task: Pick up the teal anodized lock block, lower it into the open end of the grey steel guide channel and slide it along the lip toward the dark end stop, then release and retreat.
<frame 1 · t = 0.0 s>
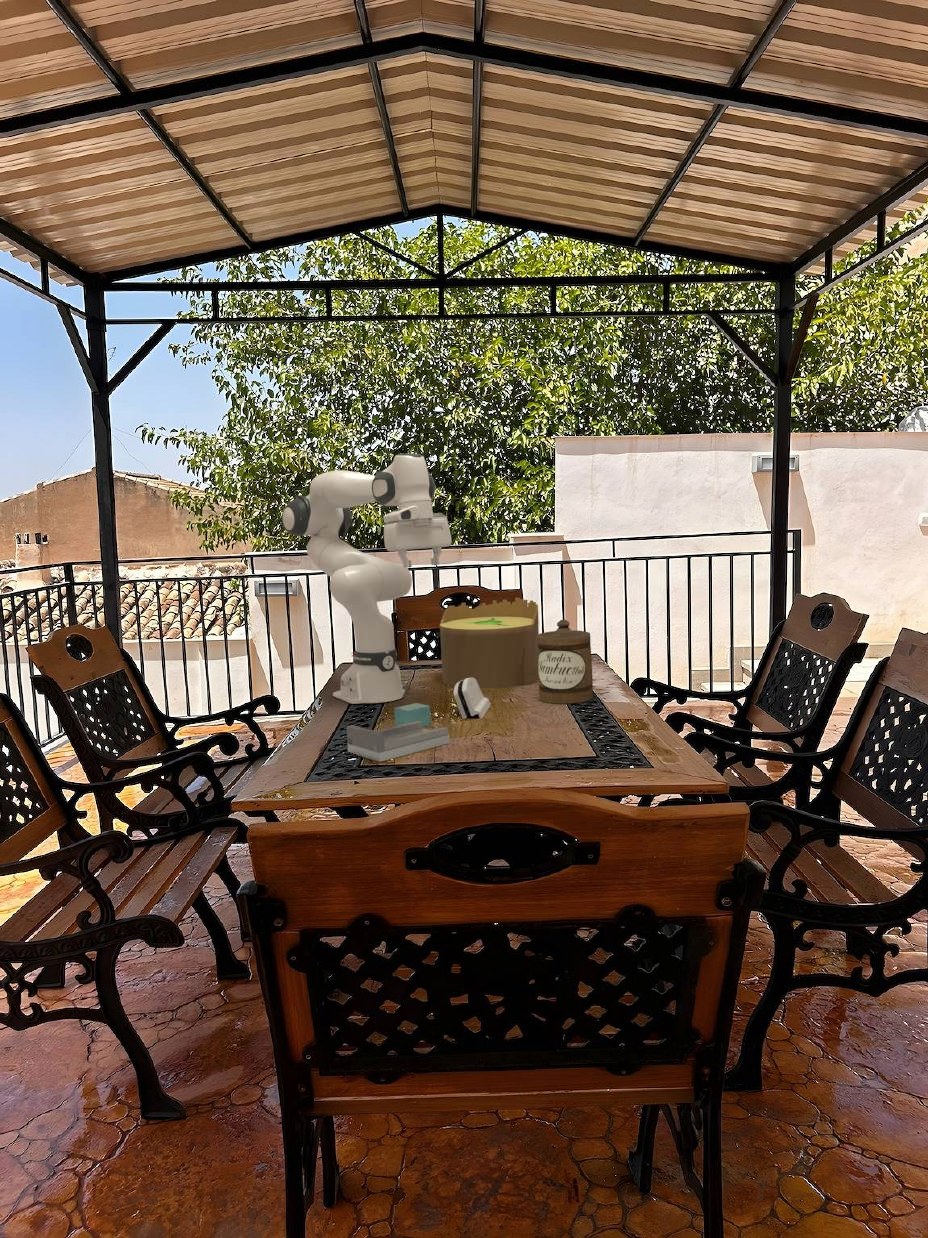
hand: (421, 566, 238), 39 cm above the table, tool pointing down, fingers open, 8 cm apart
lock block: (412, 726, 225), on the table
wooden container: (566, 699, 249), on the table
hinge: (472, 712, 238), on the table
guide channel: (399, 747, 205), on the table
brown wide cylinder: (491, 678, 283), on the table
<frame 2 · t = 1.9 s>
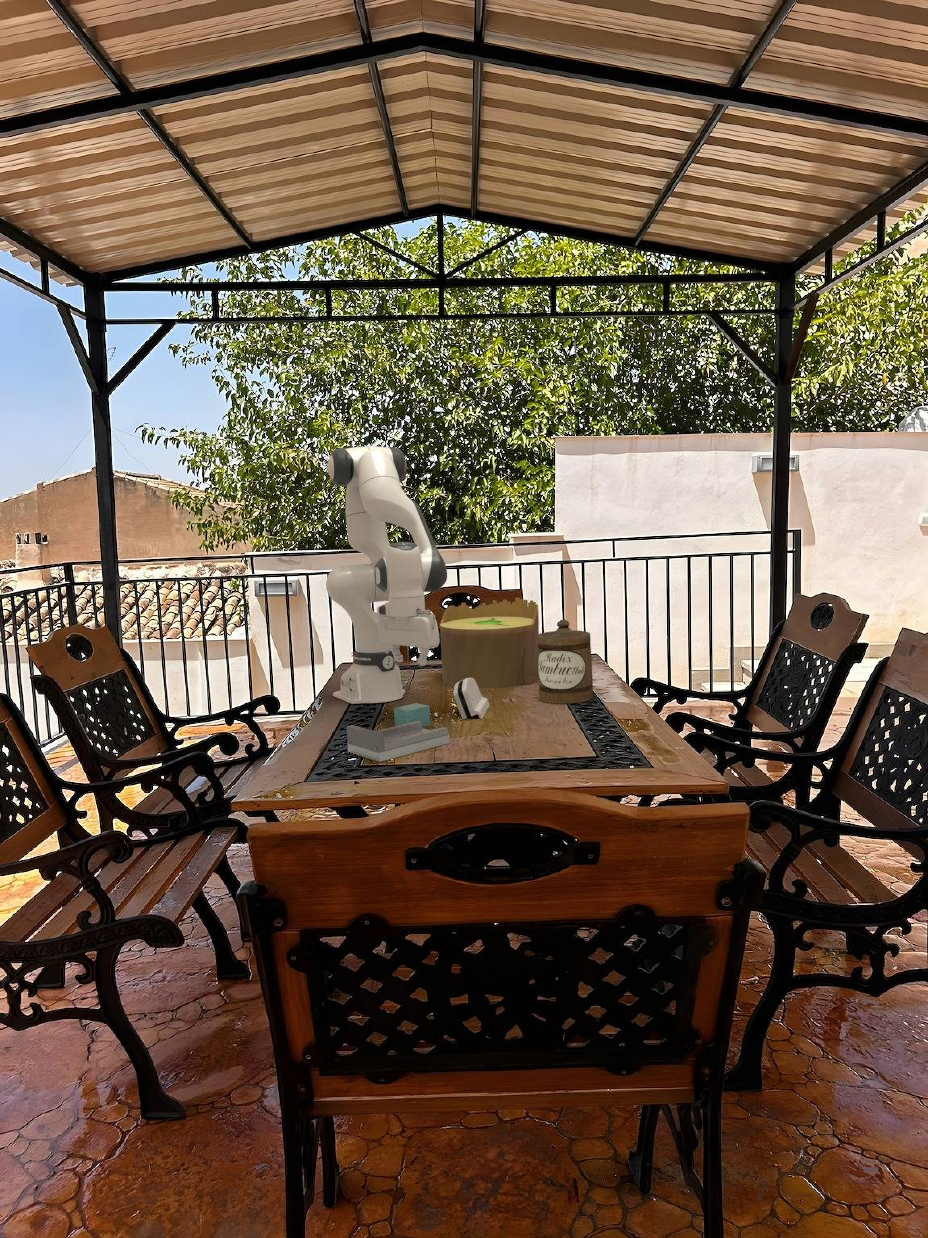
hand: (410, 663, 223), 16 cm above the table, tool pointing down, fingers open, 8 cm apart
nothing on the table moved.
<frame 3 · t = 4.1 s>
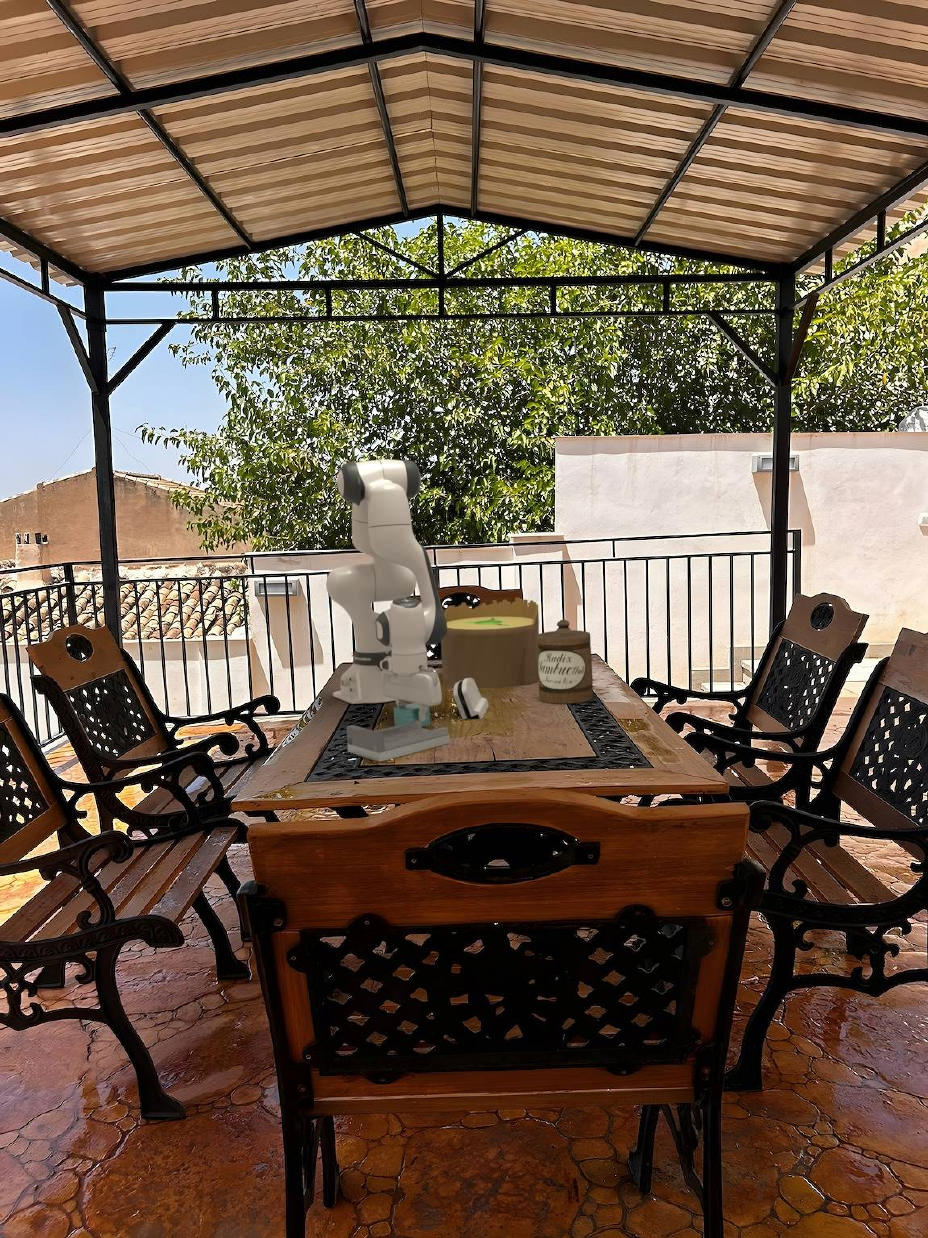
hand: (412, 718, 225), 2 cm above the table, tool pointing down, fingers closed on lock block, 5 cm apart
lock block: (412, 726, 225), on the table, touching gripper
everything else where it was.
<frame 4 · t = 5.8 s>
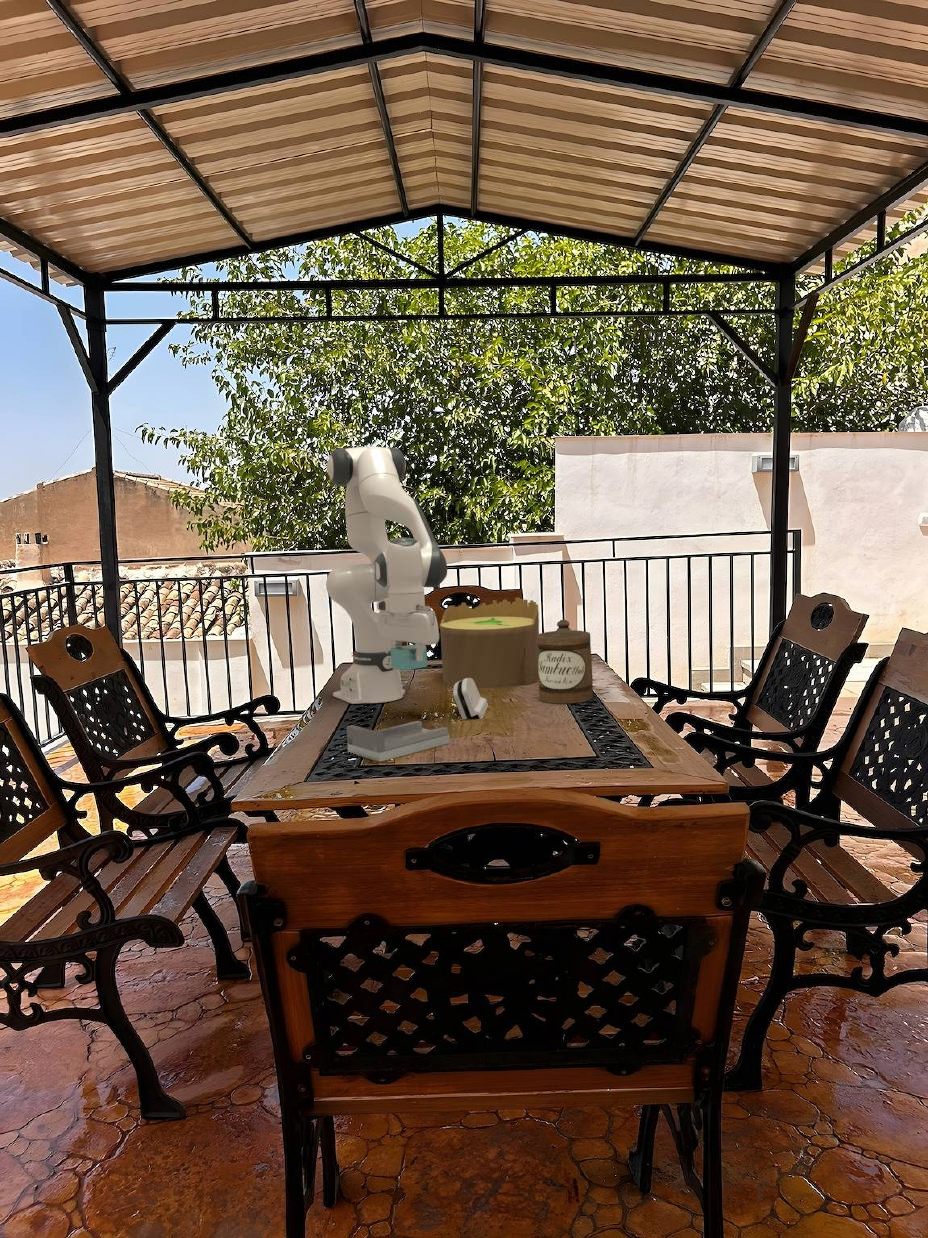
hand: (409, 659, 223), 17 cm above the table, tool pointing down, fingers closed on lock block, 5 cm apart
lock block: (409, 667, 223), point 15 cm above the table, touching gripper
everything else where it was.
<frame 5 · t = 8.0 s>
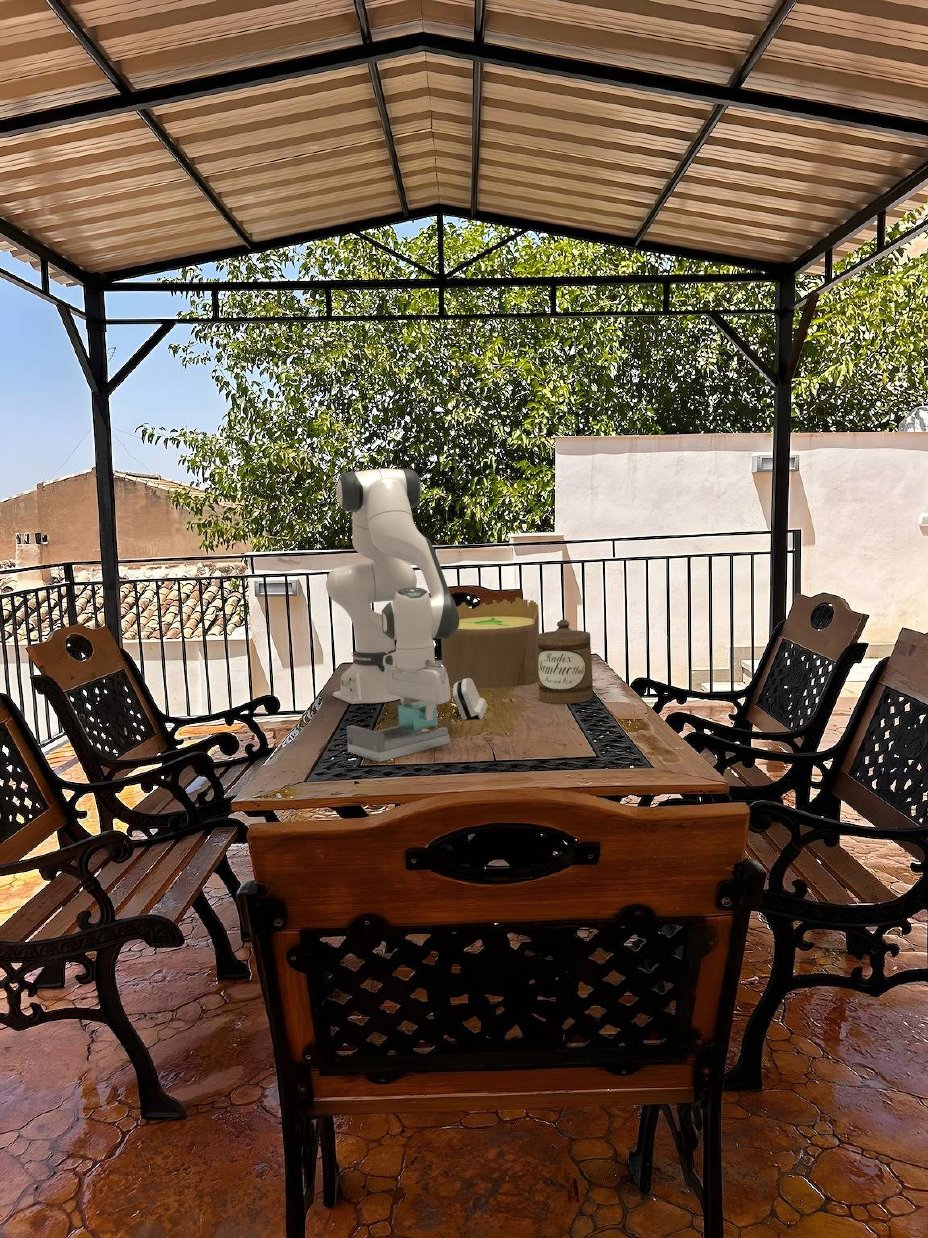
hand: (418, 717, 208), 6 cm above the table, tool pointing down, fingers closed on lock block, 5 cm apart
lock block: (418, 725, 208), point 4 cm above the table, touching gripper
everything else where it was.
when the fingers open (5 cm above the table, at t = 11.5 s): lock block drops 1 cm, resting on guide channel.
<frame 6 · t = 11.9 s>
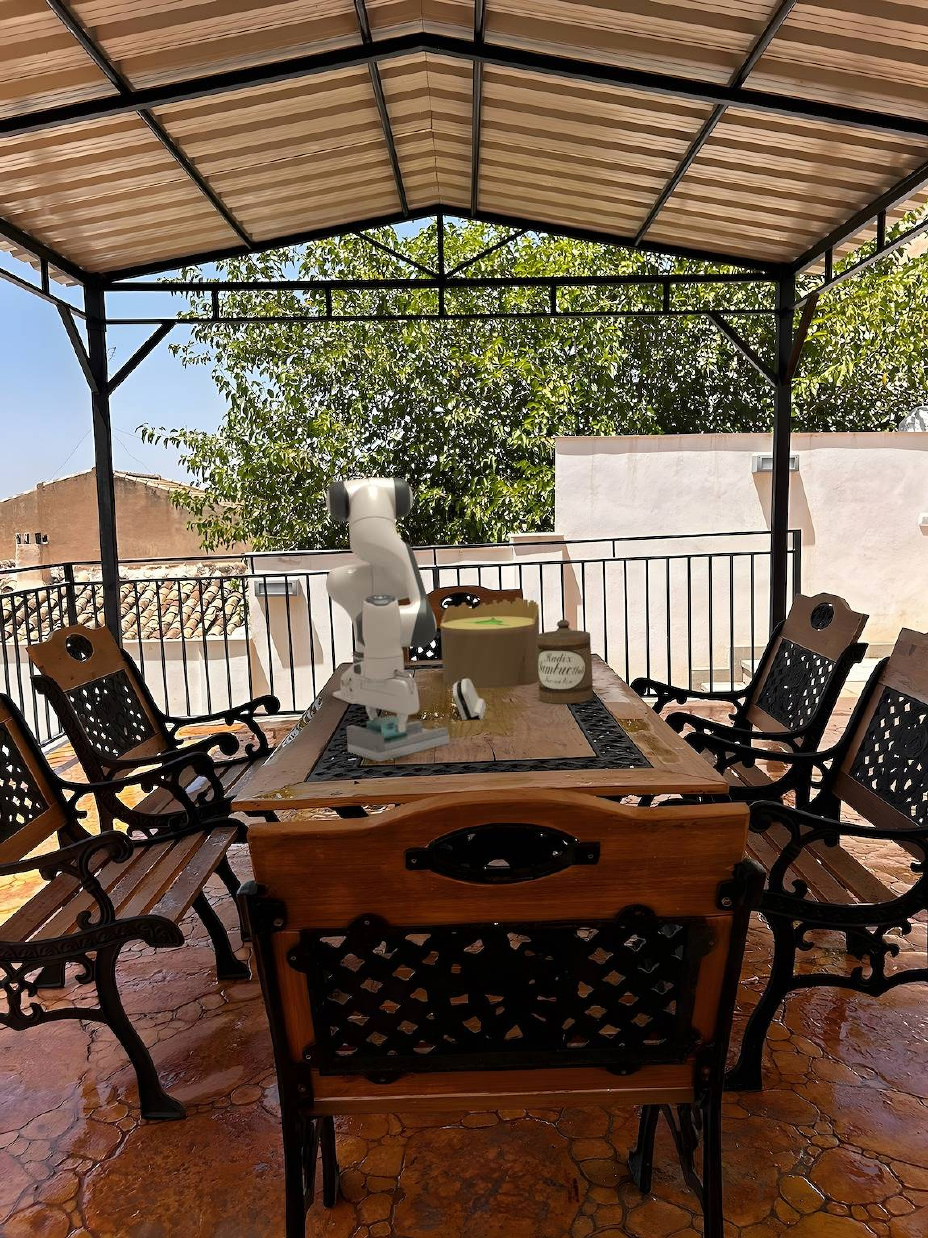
hand: (387, 728, 202), 5 cm above the table, tool pointing down, fingers open, 8 cm apart
lock block: (387, 741, 203), point 2 cm above the table, touching guide channel
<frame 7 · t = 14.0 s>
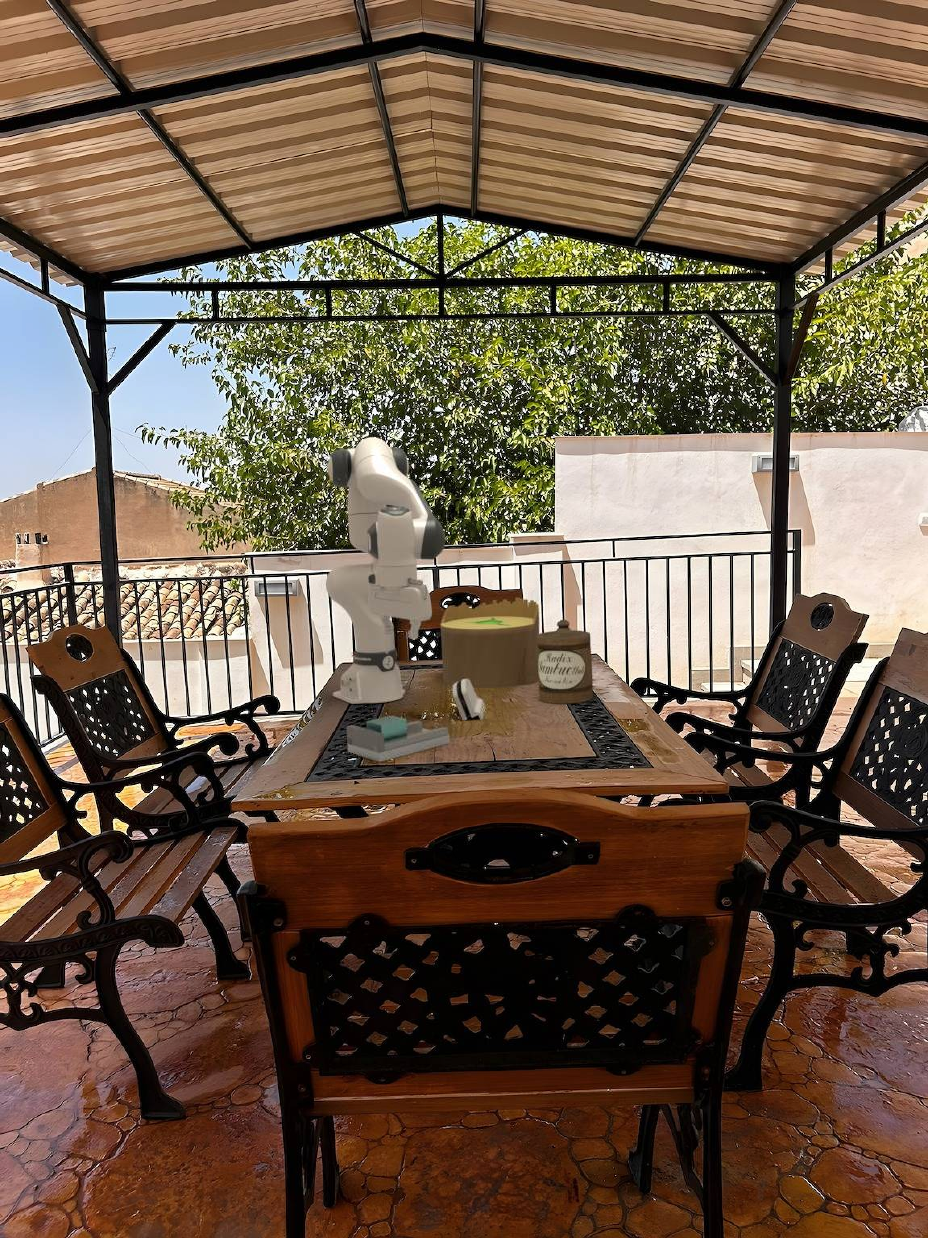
hand: (400, 636, 210), 24 cm above the table, tool pointing down, fingers open, 8 cm apart
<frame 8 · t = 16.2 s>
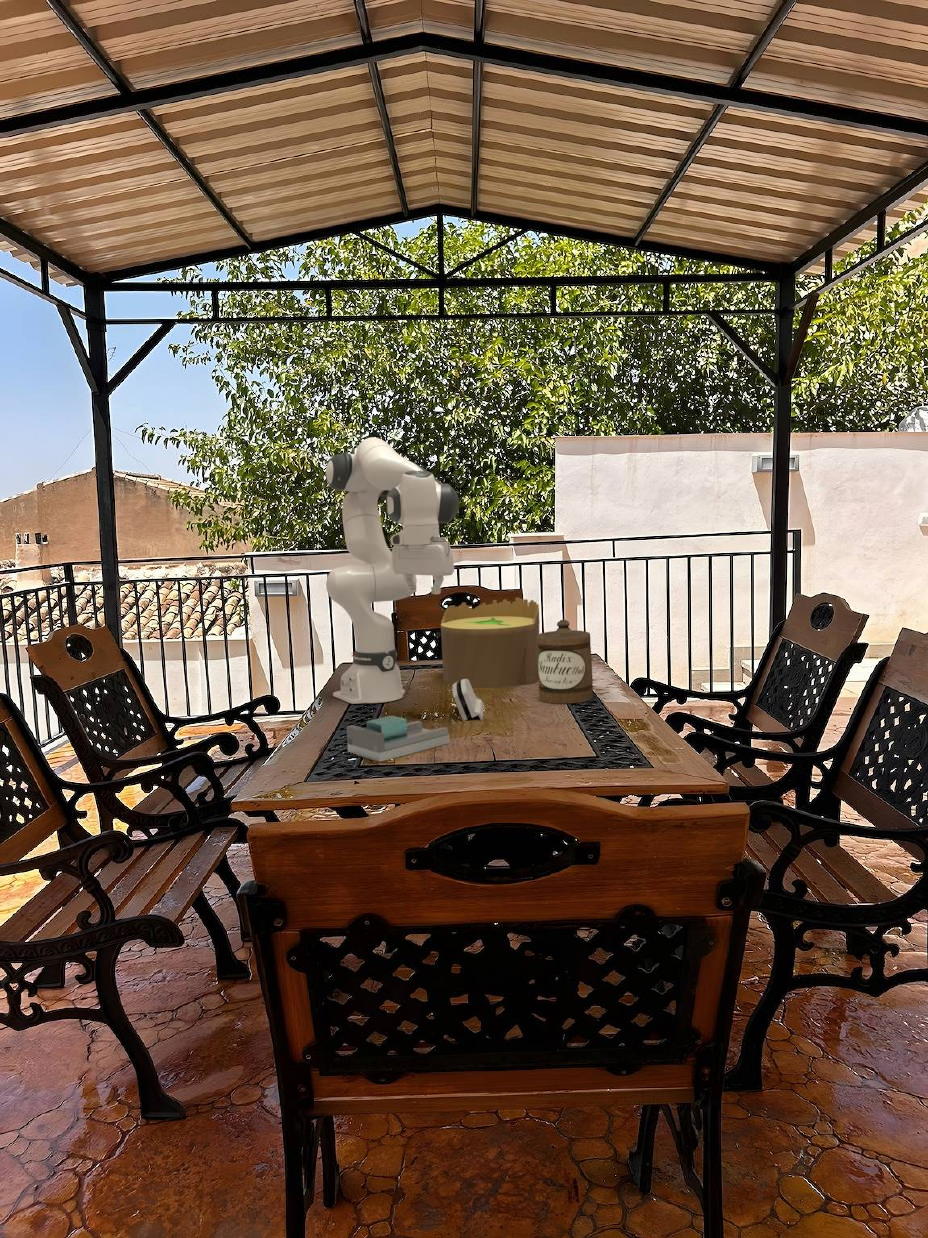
hand: (423, 593, 222), 33 cm above the table, tool pointing down, fingers open, 8 cm apart
at the end: lock block inside the target area on the guide channel (0.1 cm from its centre), point 2.0 cm above the guide channel's base; lock block tilted 0°; the gripper is holding nothing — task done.
